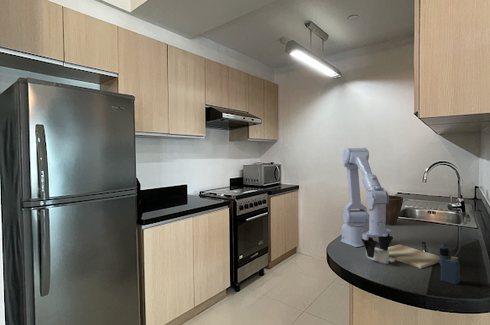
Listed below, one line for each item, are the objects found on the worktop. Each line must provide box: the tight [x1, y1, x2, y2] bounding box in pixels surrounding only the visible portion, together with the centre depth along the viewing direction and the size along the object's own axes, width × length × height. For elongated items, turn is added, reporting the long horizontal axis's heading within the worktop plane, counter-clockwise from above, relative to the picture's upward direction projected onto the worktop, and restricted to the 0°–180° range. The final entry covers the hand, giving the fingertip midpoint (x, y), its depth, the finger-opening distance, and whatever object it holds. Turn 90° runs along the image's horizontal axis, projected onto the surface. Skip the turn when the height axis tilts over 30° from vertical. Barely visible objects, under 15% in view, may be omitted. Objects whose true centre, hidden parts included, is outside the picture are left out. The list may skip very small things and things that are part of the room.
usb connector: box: [365, 246, 396, 265], centre depth 104 cm, size 11×3×4 cm, turn 27°
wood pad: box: [387, 244, 440, 269], centre depth 108 cm, size 18×16×1 cm
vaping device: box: [439, 242, 461, 285], centre depth 87 cm, size 3×5×12 cm, turn 51°
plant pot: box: [385, 194, 404, 226], centre depth 160 cm, size 15×15×16 cm
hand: (377, 255), depth 105 cm, fingers open, 7 cm apart
